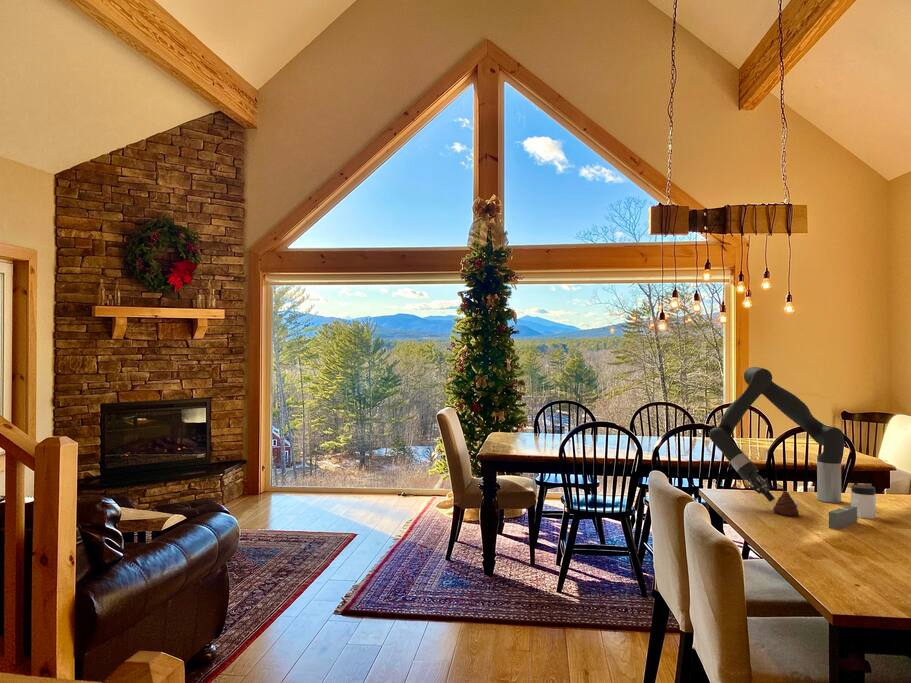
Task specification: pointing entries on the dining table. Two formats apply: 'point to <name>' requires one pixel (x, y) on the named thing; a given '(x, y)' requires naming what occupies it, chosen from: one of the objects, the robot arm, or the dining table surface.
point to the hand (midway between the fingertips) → (772, 500)
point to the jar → (864, 500)
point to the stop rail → (842, 517)
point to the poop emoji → (786, 506)
